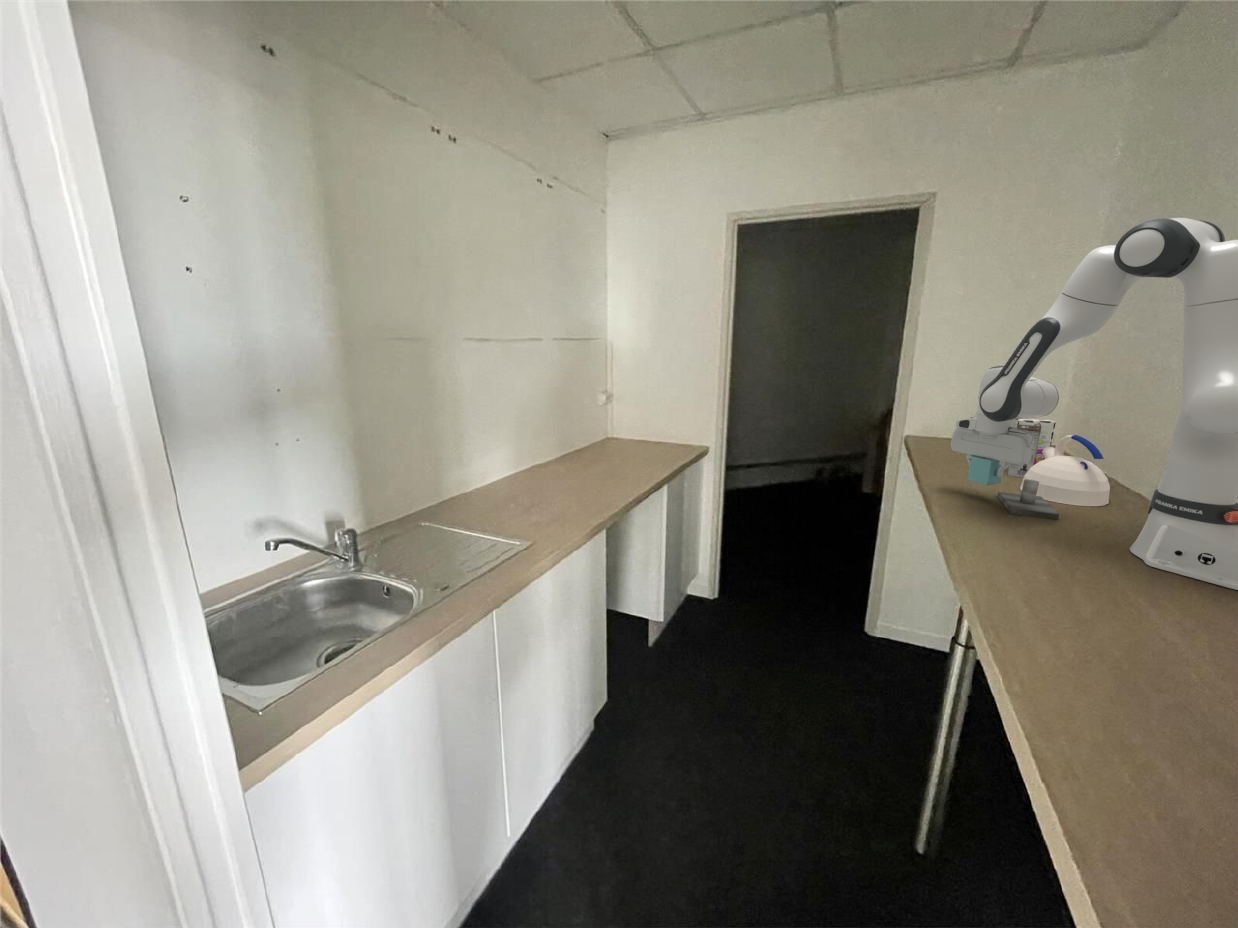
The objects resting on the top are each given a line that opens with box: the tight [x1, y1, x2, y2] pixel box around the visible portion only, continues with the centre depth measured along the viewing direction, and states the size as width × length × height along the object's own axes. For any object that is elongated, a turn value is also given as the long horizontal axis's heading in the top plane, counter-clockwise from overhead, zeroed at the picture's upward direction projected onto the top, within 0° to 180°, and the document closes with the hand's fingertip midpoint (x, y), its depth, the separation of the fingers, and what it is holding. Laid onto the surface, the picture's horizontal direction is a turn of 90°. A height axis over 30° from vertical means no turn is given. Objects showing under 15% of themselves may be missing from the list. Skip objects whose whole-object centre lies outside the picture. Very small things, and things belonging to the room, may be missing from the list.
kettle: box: [1019, 434, 1111, 507], centre depth 151 cm, size 20×21×18 cm
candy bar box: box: [1013, 418, 1057, 466], centre depth 184 cm, size 11×5×16 cm, turn 73°
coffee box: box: [1007, 424, 1041, 478], centre depth 172 cm, size 9×6×16 cm
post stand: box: [996, 479, 1060, 521], centre depth 141 cm, size 16×10×8 cm, turn 156°
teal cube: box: [967, 456, 1002, 486], centre depth 147 cm, size 6×6×7 cm
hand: (985, 473), depth 147 cm, fingers closed on teal cube, 6 cm apart
